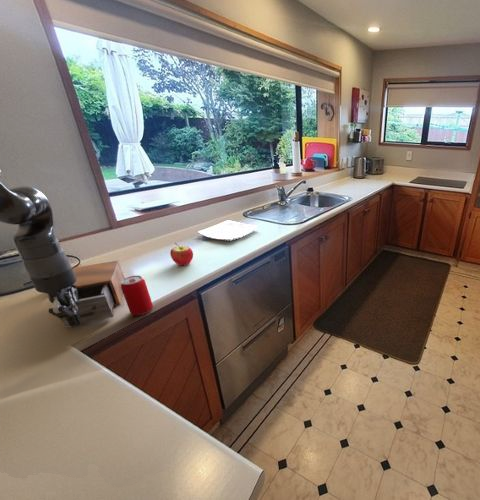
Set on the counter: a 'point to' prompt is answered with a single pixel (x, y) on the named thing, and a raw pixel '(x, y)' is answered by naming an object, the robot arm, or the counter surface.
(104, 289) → the drawer
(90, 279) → the cabinet
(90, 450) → the counter surface
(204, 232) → the plate
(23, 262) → the robot arm
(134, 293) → the beverage can
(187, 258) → the apple
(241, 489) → the counter surface
